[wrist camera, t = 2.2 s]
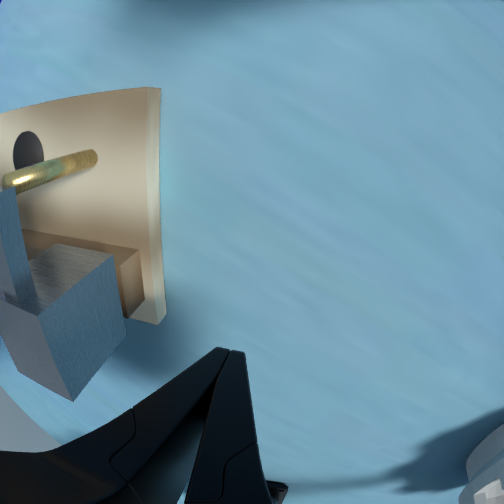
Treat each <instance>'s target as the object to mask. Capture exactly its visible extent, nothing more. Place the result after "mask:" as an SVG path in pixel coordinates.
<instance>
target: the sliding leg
mask: <svg viewBox="0 0 504 504" xmlns="http://www.w3.org/2000/svg"><path fill="white" fill-rule="evenodd" d="M97 161H98V156H97V153H96V152H95V151H94V150H93V149H88V150H84V151H80V152H76V153H72V154H68V155H64V156H61V157H57V158H54V159H50V160H47V161H44V162H40V163H37V164H34V165H31V166H27V167H24V168H21V169H18V170H15V171H12V172H9V173H7V174H4V175H3V177H2V182H1V184H2V186H0V333H1V336H2V338H3V340H4V343H5V345H6V347H7V349H8V351H9V353H10V355H11V358H12V360H13V362H14V364H15V366H16V368H17V370H18V371H19V372H20V373H22V374H23V375H25V376H27V377H28V378H30V379H32V380H34V381H35V382H37V383H39V384H40V385H42V386H44V387H46V388H48V389H49V390H51V391H53V392H55V393H57V394H59V395H61V396H63V397H64V398H66V399H68V400H70V401H72V402H74V400H75V399H76V398H77V396H78V395H79V394H80V393H81V391H82V390H83V389H84V387H85V386H86V385H87V384H88V382H89V381H90V380H91V378H92V377H93V376H94V375H95V373H96V372H97V371H98V370H99V368H100V367H101V366H102V365H103V363H104V362H105V361H106V359H107V358H108V357H109V356H110V355H111V353H112V352H113V351H114V350H115V348H116V347H117V346H118V345H119V343H120V342H121V341H122V340H123V338H124V337H125V336H126V335H127V332H126V327H125V322H124V317H123V312H122V307H121V301H120V295H119V289H118V283H117V277H116V270H115V263H114V256H113V254H109V253H103V252H98V251H93V250H88V249H83V248H78V247H73V246H68V245H63V244H58V243H56V244H54V245H53V246H51V247H49V248H48V249H46V250H45V251H43V252H41V253H40V254H38V255H37V256H35V257H34V258H32V259H30V260H29V261H28V258H27V253H26V249H25V244H24V239H23V234H22V229H21V224H20V218H19V212H18V205H17V198H16V195H18V194H21V193H23V192H26V191H28V190H31V189H33V188H36V187H38V186H41V185H43V184H46V183H49V182H51V181H54V180H57V179H60V178H62V177H65V176H68V175H71V174H74V173H77V172H80V171H83V170H86V169H89V168H92V167H94V166H95V165H96V164H97Z"/></svg>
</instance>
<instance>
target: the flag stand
mask: <svg viewBox="0 0 504 504" xmlns="http://www.w3.org/2000/svg"><path fill="white" fill-rule="evenodd" d="M466 470H467V476H468V481H469V483H468V484H467V485H466V487H465V488H464V490H463V491H462V492H461V494H460V495H459V504H504V423H503V424H502V425H501V426H499V427H498V428H497V429H495V430H494V431H493V432H492V433H491V434H489V435H488V436H487V437H486V438H485V439H484V440H483V441H482V442H481V443H480V444H479V445H478V446H477V447H476V448H475V449H474V450H473V451H472V453H471V454H470V455H469V457H468V459H467V461H466Z"/></svg>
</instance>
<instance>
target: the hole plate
mask: <svg viewBox="0 0 504 504" xmlns="http://www.w3.org/2000/svg"><path fill="white" fill-rule="evenodd" d="M160 96H161V88H153V87H142V88H131V89H122V90H114V91H106V92H99V93H92V94H86V95H80V96H74V97H69V98H63V99H58V100H53V101H49V102H44V103H40V104H36V105H31V106H27V107H23V108H20V109H16V110H12V111H8V112H5V113H2V114H0V186H2V184H1V182H2V177H3V175H4V174H7V173H9V172H12V171H15V170H18V169H21V168H24V167H27V166H31V165H34V164H37V163H40V162H44V161H47V160H50V159H54V158H57V157H61V156H64V155H68V154H72V153H76V152H80V151H84V150H88V149H93V150H94V151H95V152H96V153H97V156H98V161H97V164H96V165H95V166H94V167H92V168H89V169H86V170H83V171H80V172H77V173H74V174H71V175H68V176H65V177H62V178H60V179H57V180H54V181H51V182H49V183H46V184H43V185H41V186H38V187H36V188H33V189H31V190H28V191H26V192H23V193H21V194H18V195H16V198H17V205H18V212H19V218H20V224H21V229H22V234H23V239H24V244H25V249H26V253H27V258H28V261H29V260H30V259H32V258H34V257H35V256H37V255H38V254H40V253H41V252H43V251H45V250H46V249H48V248H49V247H51V246H53V245H54V244H56V243H58V244H63V245H68V246H73V247H78V248H83V249H88V250H93V251H98V252H103V253H109V254H113V256H114V263H115V270H116V277H117V283H118V289H119V295H120V301H121V307H122V312H123V317H124V318H132V319H136V320H140V321H143V322H147V323H151V324H155V325H158V324H159V323H160V322H161V320H162V319H163V318H164V316H165V315H166V314H167V310H166V299H165V288H164V276H163V262H162V246H161V226H160V196H159V124H160Z"/></svg>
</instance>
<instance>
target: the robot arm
mask: <svg viewBox="0 0 504 504" xmlns="http://www.w3.org/2000/svg"><path fill="white" fill-rule="evenodd" d="M191 473H192V474H191ZM190 475H191V478H190V482H189V486H188V489H187V493H186V497H185V501H184V503H185V504H282V502H283V500H284V498H285V496H286V494H287V492H288V486H286V485H282V484H276V483H269V482H266V481H265V477H264V474H263V470H262V465H261V460H260V455H259V448H258V444H257V435H256V428H255V421H254V414H253V407H252V400H251V393H250V386H249V378H248V371H247V364H246V356H245V353H244V352H241V351H236V350H231V351H230V350H229V349H226V348H222V347H216V348H214V349H213V350H212V351H210V352H209V353H208V354H206V355H205V356H204V357H202V358H201V359H199V360H198V361H197V362H195V363H194V364H193V365H191V366H190V367H189V368H187V369H186V370H184V371H183V372H182V373H180V374H179V375H178V376H176V377H175V378H173V379H172V380H171V381H169V382H168V383H166V384H165V385H164V386H162V387H161V388H159V389H158V390H156V391H155V392H154V393H152V394H151V395H149V396H148V397H146V398H145V399H144V400H142V401H141V402H139V403H138V404H136V405H135V406H133V409H132V408H130V409H129V410H127V411H126V412H124V413H123V414H121V415H120V416H118V417H117V418H115V419H113V420H112V421H110V422H109V423H107V424H105V425H103V426H101V427H100V428H98V429H96V430H94V431H92V432H90V433H88V434H86V435H84V436H82V437H80V438H77V439H75V440H73V441H71V442H69V443H67V444H65V445H62V446H60V447H58V448H55V449H53V450H49V451H45V452H38V453H30V452H11V451H0V504H177V502H178V500H179V498H180V496H181V494H182V492H183V490H184V488H185V486H186V483H187V481H188V479H189V477H190Z"/></svg>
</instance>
